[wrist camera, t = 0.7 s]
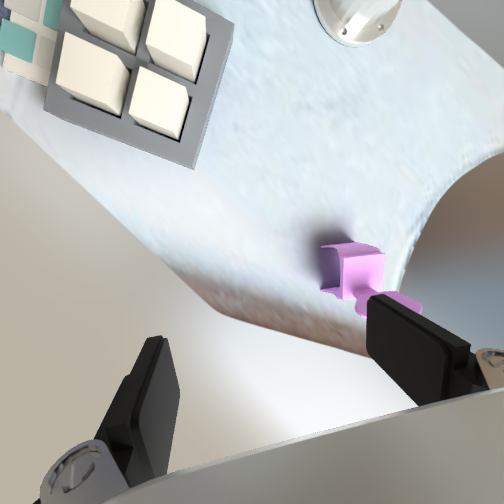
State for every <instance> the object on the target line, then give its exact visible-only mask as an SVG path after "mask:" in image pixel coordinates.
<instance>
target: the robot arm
mask: <svg viewBox="0 0 504 504" xmlns="http://www.w3.org/2000/svg"><path fill="white" fill-rule="evenodd" d="M401 1H402V0H314V5H315V9H316V12H317V15H318V18H319V20H320V22H321V24H322V26H323V27H324V29H325V30H326V32H327V33H328V34H329V35H330V36H331V37H332V38H333V39H335V40H336V41H338V42H339V43H341V44H344V45H346V46H350V47H362V46H366V45H368V44H371V43H373V42H374V41H376V40H377V39H379V38H380V37H381V36H382V35H383V34H384V33H385V32H386V31H387V30H388V28H389V27H390V26H391V25H392V23H393V21H394V20H395V18H396V16H397V14H398V11H399V9H400V6H401ZM470 347H471V344H470V343H468V342H466V341H465V340H463V339H461V338H460V337H458V336H456V335H454V334H453V333H451V332H449V331H447V330H446V329H444V328H442V327H440V326H439V325H437V324H435V323H434V322H432V321H430V320H428V319H427V318H425V317H423V316H421V315H420V314H418V313H416V312H415V311H413V310H411V309H409V308H408V307H406V306H404V305H403V304H401V303H399V302H397V301H396V300H394V299H392V298H390V297H389V296H387V295H385V294H378V295H373V296H370V298H369V299H368V300H367V325H366V349H367V352H368V354H369V355H370V357H371V358H372V359H373V360H375V362H376V363H377V364H378V365H379V366H380V367H381V368H382V369H383V370H384V371H385V372H386V373H387V374H388V375H389V376H390V377H391V378H392V379H393V380H394V381H395V382H396V383H397V384H398V386H399V387H400V388H401V389H402V390H403V391H404V392H405V393H406V394H407V395H408V396H409V397H410V398H411V399H412V400H413V401H414V402H415V403H416V404H417V405H418V406H419V407H415V408H411V409H407V410H403V411H399V412H395V413H391V414H387V415H384V416H379V417H375V418H372V419H368V420H364V421H360V422H356V423H352V424H348V425H345V426H341V427H337V428H333V429H329V430H325V431H322V432H317V433H314V434H310V435H306V436H302V437H298V438H295V439H291V440H287V441H283V442H280V443H276V444H272V445H268V446H265V447H261V448H257V449H253V450H250V451H246V452H242V453H238V454H235V455H231V456H227V457H224V458H220V459H217V460H213V461H210V462H206V463H203V464H199V465H196V466H192V467H189V468H185V469H182V470H178V471H175V472H172V473H170V474H167V468H168V463H169V457H170V451H171V446H172V439H173V434H174V428H175V422H176V416H177V410H178V405H179V398H180V389H179V385H178V380H177V376H176V372H175V368H174V364H173V359H172V356H171V351H170V347H169V343H168V339H167V338H163V337H162V336H161V335H160V336H155V337H149V338H147V339H146V341H145V343H144V346H143V347H142V350H141V352H140V354H139V356H138V358H137V360H136V362H135V364H134V367H133V369H132V371H131V373H130V374H129V375H127V376H125V378H124V379H123V381H122V383H121V385H120V387H119V389H118V391H117V393H116V395H115V397H114V399H113V401H112V403H111V405H110V407H109V409H108V411H107V413H106V415H105V417H104V419H103V421H102V423H101V425H100V427H99V429H98V431H97V433H96V435H95V437H94V439H93V440H88V441H85V442H83V443H80V444H78V445H77V446H75V447H73V448H72V449H70V450H69V451H68V452H66V453H65V454H64V455H63V456H62V457H60V458H59V459H58V460H57V462H56V463H55V464H54V465H53V466H52V467H51V468H50V470H49V471H48V473H47V474H46V476H45V477H44V479H43V482H42V484H41V487H40V498H39V499H38V500H37V501H35V502H34V503H33V504H504V350H500V349H493V348H482V349H479V350H477V352H476V353H475V354H474V353H472V352H470Z"/></svg>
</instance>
